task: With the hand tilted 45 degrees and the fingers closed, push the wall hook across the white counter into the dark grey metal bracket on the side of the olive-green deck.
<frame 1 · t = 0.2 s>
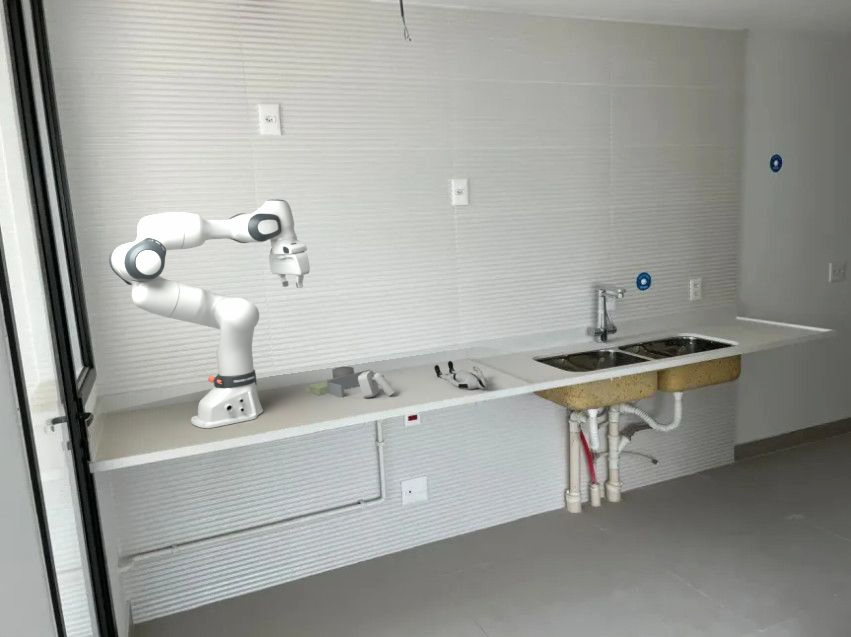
hand: (292, 286, 215), 40 cm above the worktop, tool pointing down, fingers open, 8 cm apart
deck: (351, 388, 231), on the worktop
wall hook: (378, 396, 218), on the worktop
figurine: (463, 384, 229), on the worktop
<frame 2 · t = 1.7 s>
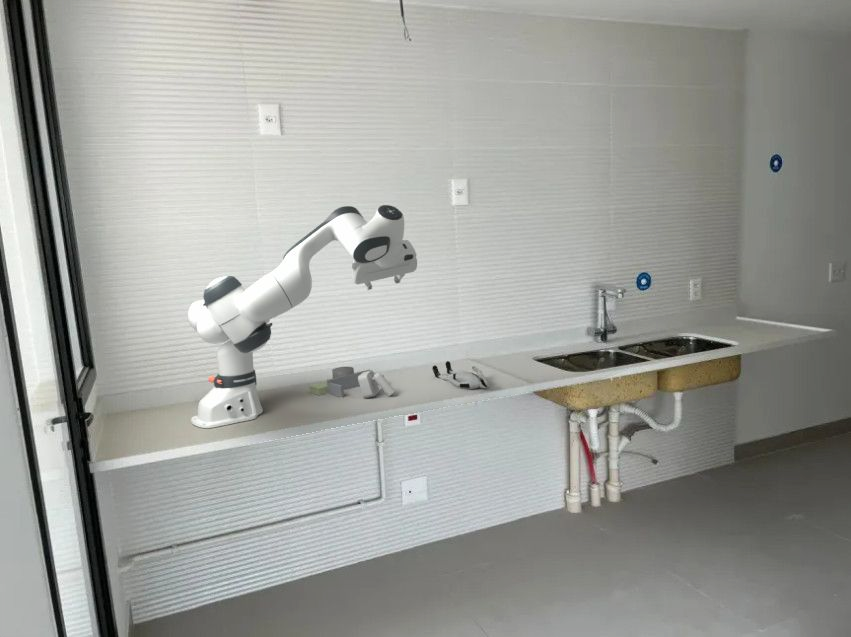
hand: (382, 285, 194), 41 cm above the worktop, tool tilted 40°, fingers open, 8 cm apart
nothing on the worktop moved.
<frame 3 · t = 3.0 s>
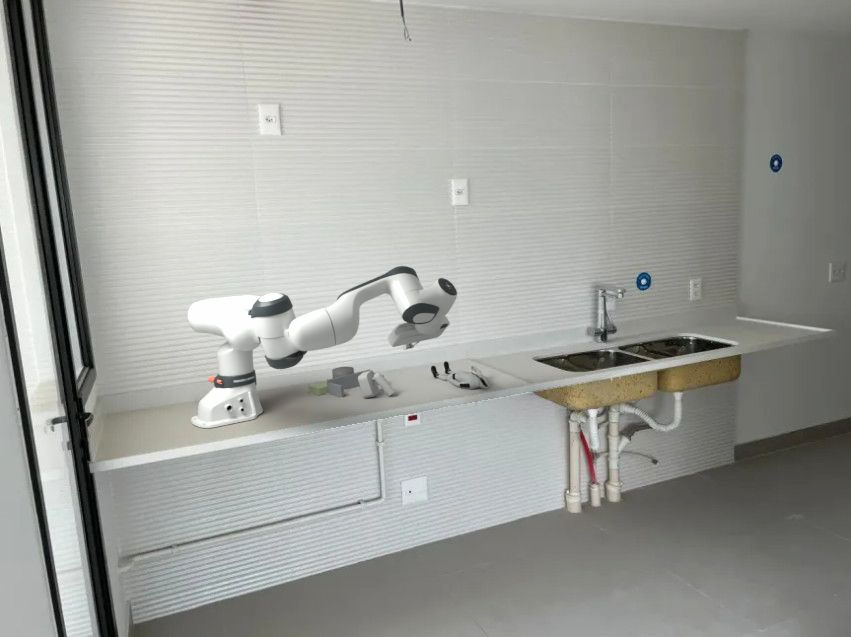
hand: (407, 347, 202), 19 cm above the worktop, tool tilted 45°, fingers closed
nothing on the worktop moved.
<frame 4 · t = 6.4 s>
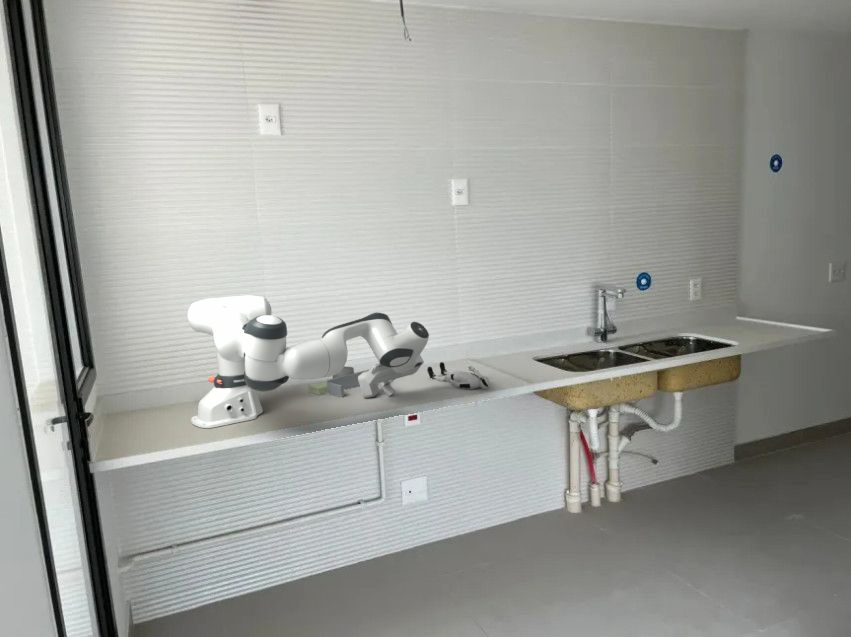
hand: (384, 384, 216), 5 cm above the worktop, tool tilted 45°, fingers closed
wall hook: (378, 396, 218), on the worktop, touching gripper
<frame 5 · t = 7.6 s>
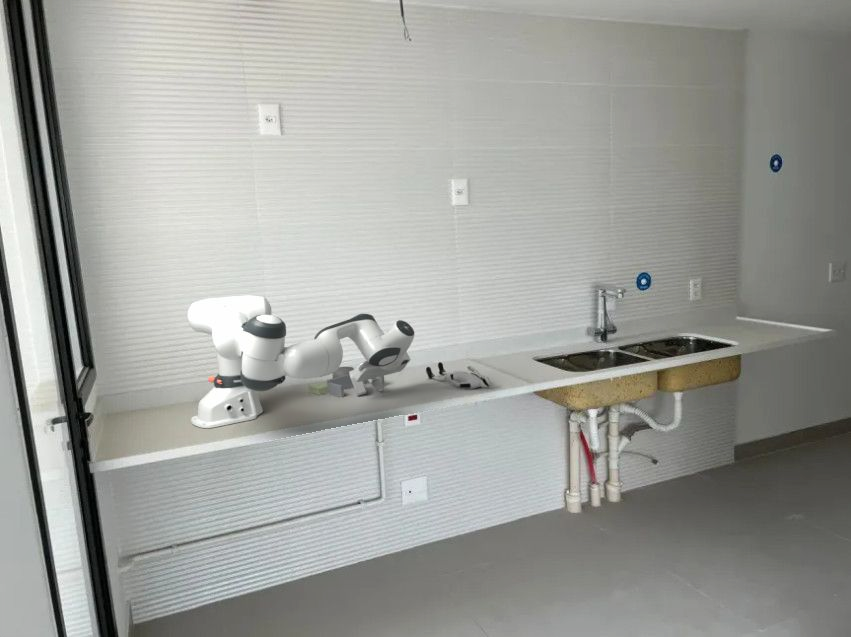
hand: (372, 381, 221), 5 cm above the worktop, tool tilted 45°, fingers closed, pressing on wall hook
wall hook: (368, 393, 222), on the worktop, touching gripper
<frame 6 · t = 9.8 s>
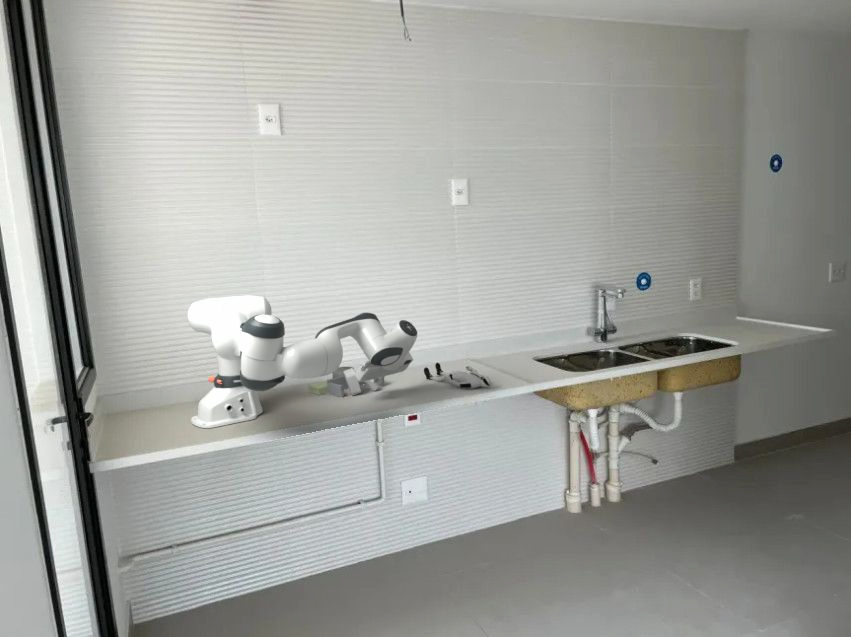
hand: (374, 381, 219), 5 cm above the worktop, tool tilted 45°, fingers closed
wall hook: (362, 392, 224), on the worktop
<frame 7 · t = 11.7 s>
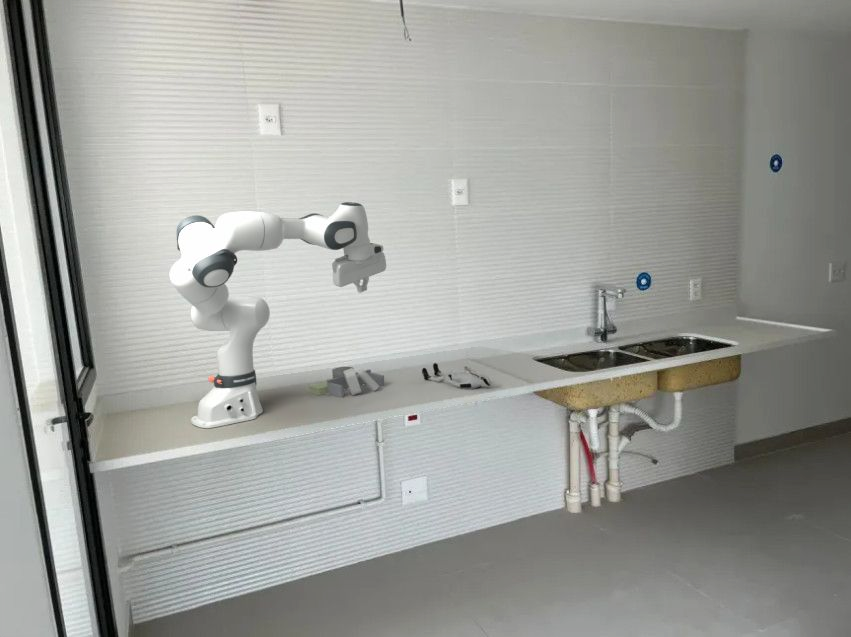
hand: (362, 291, 208), 38 cm above the worktop, tool pointing down, fingers closed
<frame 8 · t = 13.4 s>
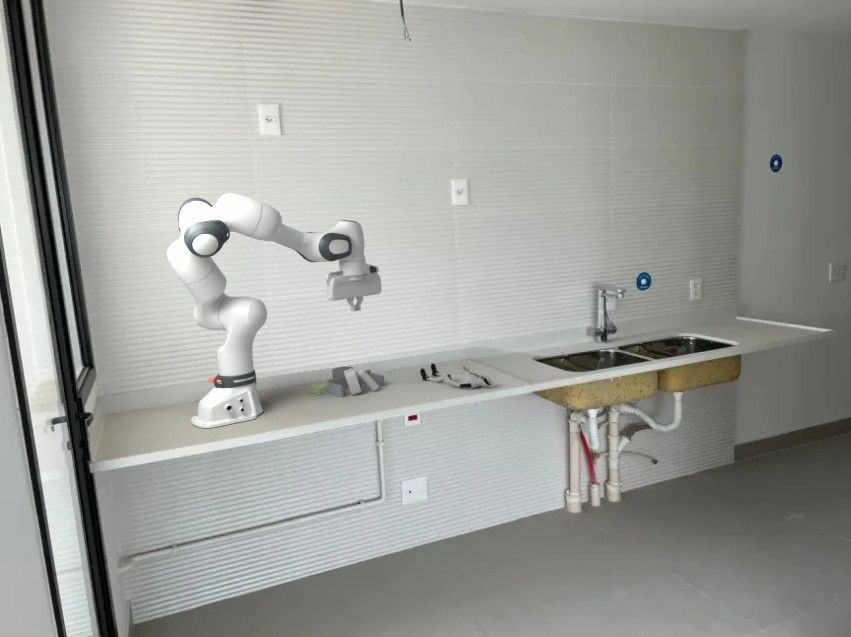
hand: (355, 310, 209), 31 cm above the worktop, tool pointing down, fingers closed
at the end: wall hook inside the target area (2.7 cm from its centre), on the worktop; wall hook tilted 0° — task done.
